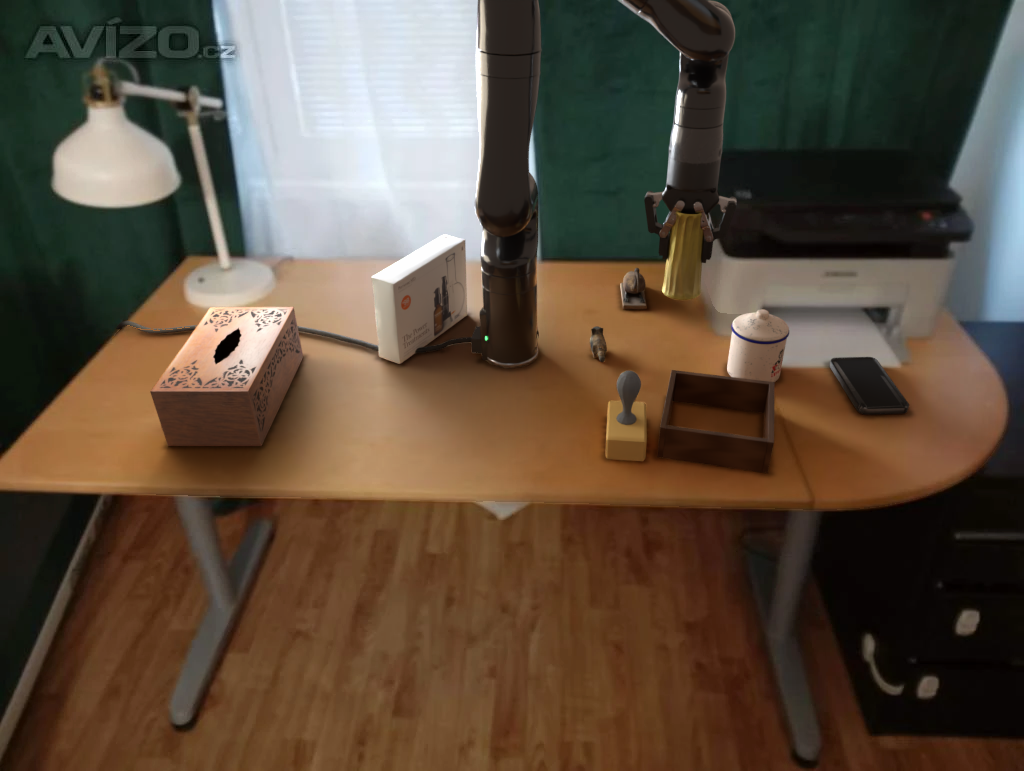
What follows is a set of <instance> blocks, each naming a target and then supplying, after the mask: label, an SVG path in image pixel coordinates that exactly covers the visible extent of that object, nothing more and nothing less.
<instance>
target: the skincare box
mask: <svg viewBox="0 0 1024 771" xmlns="http://www.w3.org/2000/svg"><path fill="white" fill-rule="evenodd" d="M466 250H467V249H466V239H464V238H461V237H457V236H454V235H450V234H447V233H446V234H445V233H444V234H442V235H439V236H438V237H436V238H434V239H433V240H431V241H430V242H428V243H427V244H425V245H423V246H421V247H419V248H418V249H416V250H415V251H413V252H411V253H410V254H408V255H406V256H404V257H403V258H401V259H400V260H398V261H396V262H394V263H392V264H391V265H389V266H387V267H386V268H384V269H382V270H380V271H379V272H377V273H376V274H373V275H372V276H370V277H371V278H370V279H371V286H372V296H373V306H374V307H373V308H374V318H375V327H376V337H377V345H378V350H379V351H378V357H379V358H381V359H384V360H386V361H389V362H392V363H395V364H399V365H401V364H403V363H404V362H405V361H407V360H408V359H410V357H412V356H414V355H416V353H415V351H416V349H417V348H421V347H427V345H428V344H430V343H431V342H433V341H434V340H435V339H436V338H438V337H439V336H441V335H442V334H444V333H445V332H446V331H448V330H450V328H452V327H453V326H455V325H456V324H457V323H458V322H460V321H461V320H462V319H464V318H466V317H467V316H468V292H467V290H468V288H467V286H468V285H467V253H466V252H467V251H466Z"/></svg>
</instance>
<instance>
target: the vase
mask: <svg viewBox="0 0 1024 771" xmlns="http://www.w3.org/2000/svg"><path fill="white" fill-rule="evenodd" d="M675 215H676V217H677V218H676V221H675V223H674V225H673V226H672V228H671V230H670V231H669V233H670V236H669V244H668V254H667V260H665V261H666V262H665V269H664V274H663V284H662V287H661V291H662V293H663V295H664V296H665V297H667V298H669V299H672V300H676V301H689V300H691V301H692V300H694V299H696V298H698V297H699V296H701V290H702V289H701V283H702V268H703V263H701V261H702V252H703V244H704V238H705V236H704V233H703V230H702V229H701V226H700V225H701V217H702V215H701V213H699V214H684V213H680V212H678V211H677V212H676V214H675Z"/></svg>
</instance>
